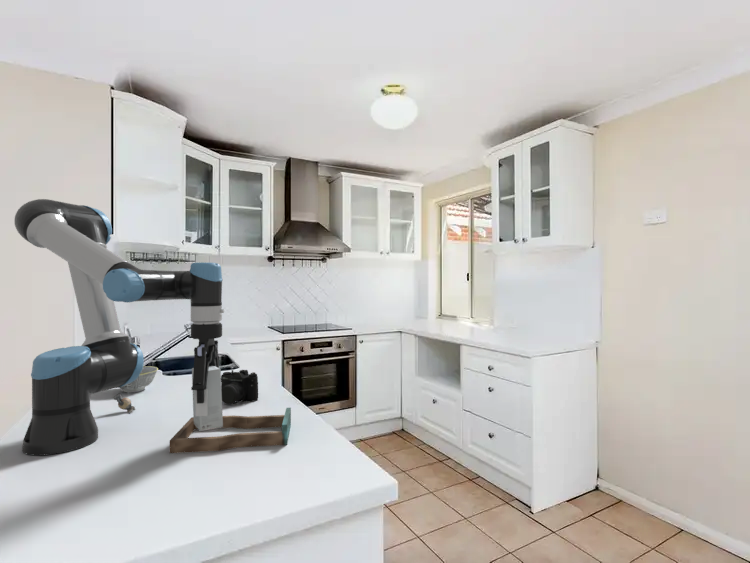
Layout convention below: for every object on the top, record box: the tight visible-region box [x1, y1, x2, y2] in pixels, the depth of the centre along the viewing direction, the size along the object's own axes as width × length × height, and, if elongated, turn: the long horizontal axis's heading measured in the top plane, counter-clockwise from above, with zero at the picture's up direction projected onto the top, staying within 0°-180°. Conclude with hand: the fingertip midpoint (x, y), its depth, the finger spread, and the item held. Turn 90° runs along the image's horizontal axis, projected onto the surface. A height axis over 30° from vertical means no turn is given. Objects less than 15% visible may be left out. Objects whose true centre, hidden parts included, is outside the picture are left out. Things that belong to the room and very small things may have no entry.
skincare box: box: [191, 366, 224, 432], centre depth 108 cm, size 8×6×15 cm
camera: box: [221, 369, 259, 405], centre depth 143 cm, size 14×11×10 cm
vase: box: [112, 393, 136, 414], centre depth 131 cm, size 5×5×6 cm
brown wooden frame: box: [169, 407, 292, 454], centre depth 109 cm, size 27×17×5 cm, turn 98°
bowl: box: [119, 365, 159, 393], centre depth 158 cm, size 16×16×8 cm
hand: (207, 409), depth 108 cm, fingers closed on skincare box, 9 cm apart
